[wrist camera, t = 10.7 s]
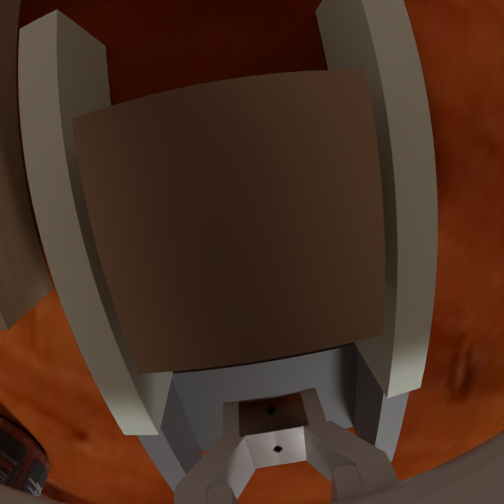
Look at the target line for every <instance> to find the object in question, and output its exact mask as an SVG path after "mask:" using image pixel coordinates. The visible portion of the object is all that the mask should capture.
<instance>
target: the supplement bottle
mask: <svg viewBox="0 0 504 504" xmlns="http://www.w3.org/2000/svg"><path fill="white" fill-rule="evenodd" d="M49 470H50V464H49V460H48V458H47V456H46V455H45V453H44V452H43V451H42V449H41V448H40V447H39V446H38V445H37V444H36V443H35V442H34V441H33V440H32V439H31V437H30V436H29V435H28V434H26V433H25V432H24V431H23V430H21V429H20V428H18V427H17V426H15V425H14V424H13V423H11V422H10V421H8V420H6V419H4V418H2V417H0V483H1V484H3V485H6V486H9V487H11V488H14V489H17V490H20V491H23V492H26V493H29V494H32V495H35V496H39V495H40V493H41V491H42V488H43V486H44V483H45V481H46V479H47V475H48V473H49Z"/></svg>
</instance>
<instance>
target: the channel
mask: <svg viewBox="0 0 504 504" xmlns="http://www.w3.org/2000/svg"><path fill="white" fill-rule="evenodd" d="M315 13H316V17H317V21H318V25H319V30H320V34H321V39H322V43H323V48H324V52H325V57H326V62H327V67H328V70H366V75H367V80H368V85H369V91H370V96H371V102H372V108H373V115H374V121H375V128H376V136H377V144H378V152H379V161H380V171H381V182H382V195H383V210H384V231H385V313H384V333H383V335H381V336H377V337H373V338H369V339H365V340H361V341H357V342H353V343H348V344H344V345H339V346H335V347H330V348H326V349H321V350H316V351H311V352H306V353H301V354H296V355H290V356H285V357H279V358H273V359H267V360H261V361H255V362H248V363H241V364H234V365H227V366H219V367H211V368H202V369H193V370H183V371H172V372H160V373H146V374H139V371H138V369H137V366H136V364H135V362H134V359H133V357H132V354H131V351H130V349H129V346H128V344H127V341H126V338H125V336H124V333H123V330H122V327H121V325H120V322H119V319H118V316H117V313H116V310H115V307H114V304H113V301H112V298H111V295H110V292H109V289H108V286H107V282H106V279H105V276H104V272H103V269H102V265H101V262H100V258H99V255H98V251H97V247H96V244H95V240H94V236H93V232H92V228H91V223H90V219H89V215H88V210H87V206H86V201H85V196H84V191H83V186H82V181H81V176H80V170H79V164H78V158H77V152H76V145H75V138H74V130H73V122H72V119H74V118H76V117H79V116H82V115H85V114H88V113H91V112H94V111H97V110H100V109H103V108H106V107H109V106H111V99H110V90H109V80H108V69H107V56H106V46H105V45H103V44H102V43H101V42H100V41H98V40H97V39H96V38H95V37H93V36H92V35H91V34H89V33H88V32H87V31H86V30H84V29H83V28H82V27H80V26H79V25H78V24H76V23H75V22H74V21H72V20H71V19H70V18H68V17H67V16H66V15H64V14H63V13H62V12H60V11H59V10H58V9H57V10H55V11H53V12H51V13H49V14H47V15H45V16H43V17H41V18H39V19H37V20H35V21H33V22H31V23H30V24H28V25H26V26H24V27H22V28H21V29H20V33H19V54H18V87H19V109H20V122H21V133H22V142H23V150H24V157H25V164H26V171H27V177H28V183H29V188H30V193H31V198H32V203H33V208H34V212H35V217H36V221H37V225H38V229H39V233H40V237H41V241H42V245H43V248H44V252H45V255H46V259H47V262H48V265H49V269H50V272H51V275H52V278H53V281H54V284H55V287H56V290H57V293H58V296H59V299H60V301H61V304H62V307H63V310H64V312H65V315H66V317H67V320H68V322H69V325H70V327H71V330H72V332H73V335H74V337H75V340H76V342H77V344H78V347H79V349H80V351H81V353H82V356H83V358H84V360H85V362H86V364H87V366H88V368H89V371H90V373H91V375H92V377H93V379H94V381H95V383H96V385H97V387H98V389H99V391H100V393H101V394H102V396H103V398H104V400H105V402H106V404H107V406H108V407H109V409H110V411H111V413H112V415H113V416H114V418H115V420H116V422H117V423H118V425H119V427H120V428H121V430H122V432H123V433H124V435H137V436H138V438H139V440H140V441H141V443H142V445H143V446H144V448H145V450H146V451H147V453H148V455H149V456H150V458H151V459H152V461H153V462H154V464H155V465H156V467H157V469H158V470H159V472H160V473H161V474H162V476H163V477H164V479H165V480H166V482H167V483H168V485H169V486H170V487H171V489H172V490H173V492H174V493H175V488H176V485H177V484H178V483H179V482H180V481H181V480H182V479H183V478H184V476H185V475H186V474H187V473H188V472H189V471H190V470H191V469H192V468H193V467H194V465H195V464H196V463H197V462H198V461H199V460H200V459H201V458H202V451H207V450H209V448H210V447H211V446H212V445H213V444H214V443H215V441H216V440H217V439H222V406H223V403H225V402H235V401H241V400H250V399H258V398H265V397H271V396H276V395H282V394H287V393H292V392H297V391H301V390H306V389H310V388H315V389H316V391H317V394H318V397H319V400H320V403H321V406H322V409H323V412H324V415H325V418H326V421H327V422H328V421H333V422H334V423H336V424H337V425H339V426H341V427H342V428H344V429H345V428H349V427H354V430H355V432H356V434H357V436H358V437H359V438H361V439H363V440H364V441H366V442H368V443H370V444H371V445H373V446H375V447H377V448H379V449H380V450H382V451H384V452H386V454H387V456H388V458H389V461H390V462H391V461H392V459H393V456H394V452H395V449H396V445H397V441H398V438H399V434H400V430H401V426H402V422H403V417H404V413H405V408H406V404H407V399H408V394H409V391H411V390H414V389H417V388H420V387H421V382H422V378H423V372H424V367H425V362H426V356H427V350H428V344H429V337H430V330H431V323H432V314H433V305H434V295H435V283H436V268H437V243H438V205H437V180H436V165H435V153H434V143H433V134H432V126H431V118H430V111H429V105H428V99H427V93H426V87H425V82H424V77H423V72H422V67H421V63H420V58H419V54H418V50H417V46H416V42H415V38H414V34H413V31H412V27H411V24H410V20H409V17H408V14H407V10H406V7H405V4H404V1H403V0H322V2H321V3H320V5H319V6H318V8H317V10H316V11H315Z"/></svg>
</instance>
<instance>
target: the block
mask: <svg viewBox="0 0 504 504" xmlns="http://www.w3.org/2000/svg"><path fill="white" fill-rule="evenodd" d="M72 122H73V130H74V138H75V145H76V152H77V158H78V164H79V170H80V176H81V181H82V186H83V191H84V196H85V201H86V206H87V210H88V215H89V219H90V223H91V228H92V232H93V236H94V240H95V244H96V247H97V251H98V255H99V258H100V262H101V265H102V269H103V272H104V276H105V279H106V282H107V286H108V289H109V292H110V295H111V298H112V301H113V304H114V307H115V310H116V313H117V316H118V319H119V322H120V325H121V327H122V330H123V333H124V336H125V338H126V341H127V344H128V346H129V349H130V351H131V354H132V357H133V359H134V362H135V364H136V366H137V369H138V371H139V374H146V373H160V372H172V371H183V370H193V369H202V368H211V367H219V366H227V365H234V364H241V363H248V362H255V361H261V360H267V359H273V358H279V357H285V356H290V355H296V354H301V353H306V352H311V351H316V350H321V349H326V348H330V347H335V346H339V345H344V344H348V343H353V342H357V341H361V340H365V339H369V338H373V337H377V336H381V335H383V333H384V313H385V231H384V210H383V195H382V182H381V171H380V161H379V152H378V144H377V136H376V128H375V121H374V115H373V108H372V102H371V96H370V91H369V85H368V80H367V75H366V70H317V71H298V72H285V73H274V74H264V75H255V76H247V77H240V78H233V79H226V80H220V81H214V82H208V83H202V84H197V85H192V86H187V87H182V88H178V89H173V90H169V91H164V92H160V93H156V94H152V95H148V96H144V97H140V98H137V99H133V100H129V101H126V102H122V103H119V104H116V105H112V106H109V107H106V108H103V109H100V110H97V111H94V112H91V113H88V114H85V115H82V116H79V117H76V118H74V119H72Z"/></svg>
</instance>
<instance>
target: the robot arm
mask: <svg viewBox="0 0 504 504" xmlns="http://www.w3.org/2000/svg"><path fill="white" fill-rule="evenodd" d="M304 460H307V462H309V463H310V464H311V465H312V466H313V467H314V468H315V469H317V470H318V471H319V472H320V473H321V474H322V475H324V476H325V477H326V478H327V479H328V480H330V481H331V482H332V487H331V503H328V504H504V431H502V432H501V433H499V434H497V435H496V436H494V437H493V438H491V439H489V440H487V441H486V442H484V443H482V444H481V445H479V446H477V447H475V448H473V449H471V450H470V451H468V452H466V453H464V454H462V455H460V456H458V457H456V458H454V459H452V460H450V461H448V462H446V463H444V464H442V465H439V466H437V467H435V468H433V469H431V470H428V471H426V472H424V473H421V474H419V475H416V476H414V477H411V478H409V479H406V480H404V481H401V482H399V480H398V478H397V476H396V474H395V472H394V469H393V467H392V465H391V463H390V461H389V458H388V456H387V454H386V452H384V451H382V450H380V449H379V448H377V447H375V446H373V445H371V444H370V443H368V442H366V441H364V440H363V439H361V438H359V437H358V436H356V435H354V434H352V433H351V432H349V431H347V430H346V429H344V428H342V427H341V426H339V425H337V424H336V423H334V422H333V421H328V422H327V421H326V418H325V415H324V412H323V409H322V406H321V403H320V400H319V397H318V394H317V391H316V389H315V388H310V389H306V390H301V391H297V392H292V393H287V394H282V395H276V396H271V397H265V398H258V399H250V400H241V401H235V402H225V403H223V406H222V439H217V440H216V441H215V443H214V444H213V445H212V446H211V447H210V448H209V450H208V451H207V452H206V453H205V454H204V455H203V456H202V458H201V459H200V460H199V461H198V462H197V463H196V464H195V465H194V467H193V468H192V469H191V470H190V471H189V472H188V473H187V474H186V475H185V476H184V478H183V479H182V480H181V481H180V482H179V483H178V484H177V485H176V488H175V496H174V504H239V503H238V501H237V499H238V497H239V496H240V494H241V492H242V491H243V489H244V488H245V486H246V484H247V483H248V481H249V479H250V478H251V476H252V474H253V473H254V471H255V468H262V467H268V466H274V465H279V464H286V463H292V462H299V461H304ZM0 504H64V503H60V502H56V501H52V500H49V499H45V498H42V497H39V496H35V495H32V494H29V493H26V492H23V491H20V490H17V489H14V488H11V487H9V486H6V485H3V484H1V483H0Z"/></svg>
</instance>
